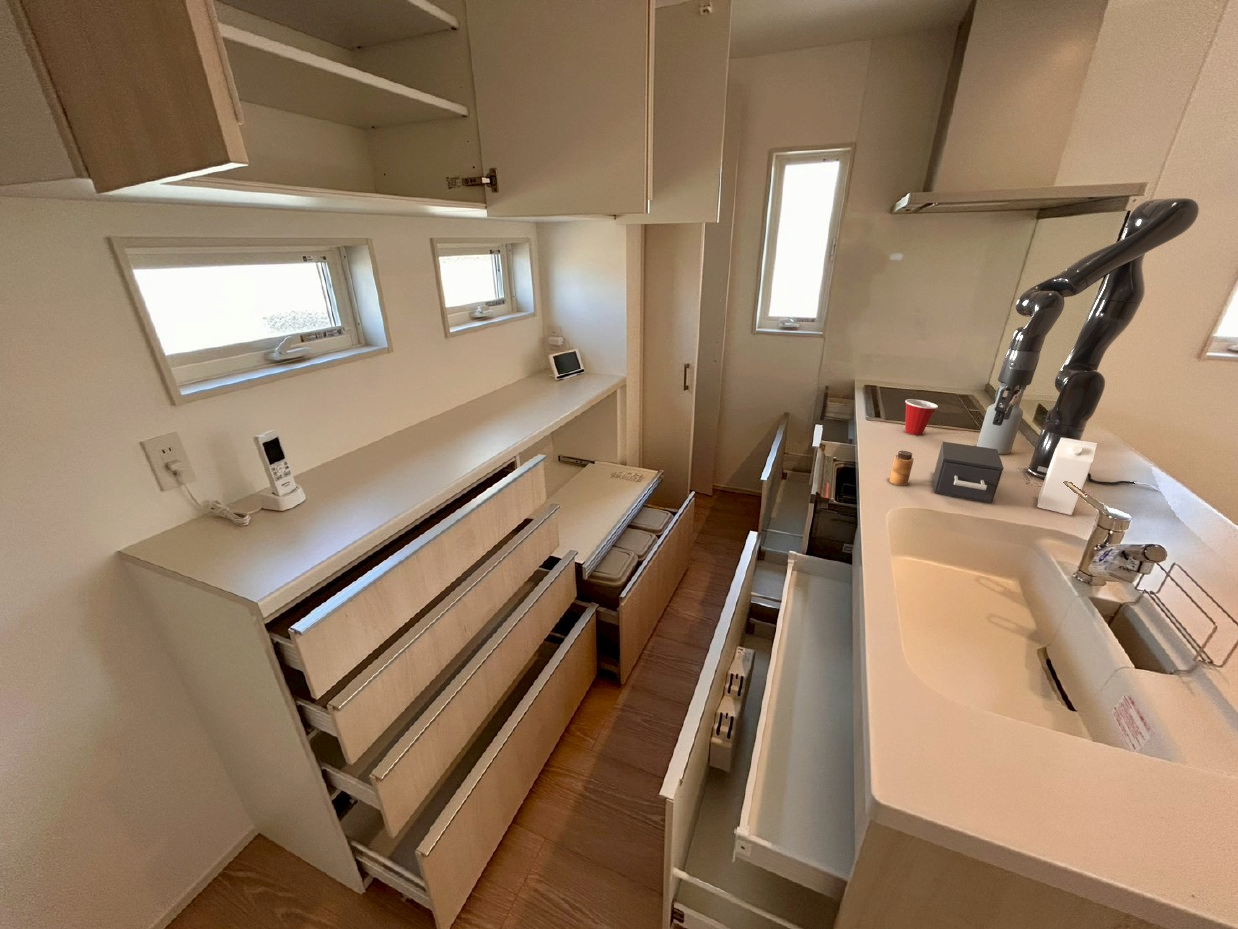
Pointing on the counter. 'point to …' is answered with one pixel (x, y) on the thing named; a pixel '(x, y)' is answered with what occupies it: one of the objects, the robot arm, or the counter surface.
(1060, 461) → the milk carton
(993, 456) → the small drawer unit
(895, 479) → the pepper mill
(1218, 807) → the counter surface
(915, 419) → the plastic cup
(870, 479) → the counter surface
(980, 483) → the drawer
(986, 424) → the water bottle
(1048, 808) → the counter surface
